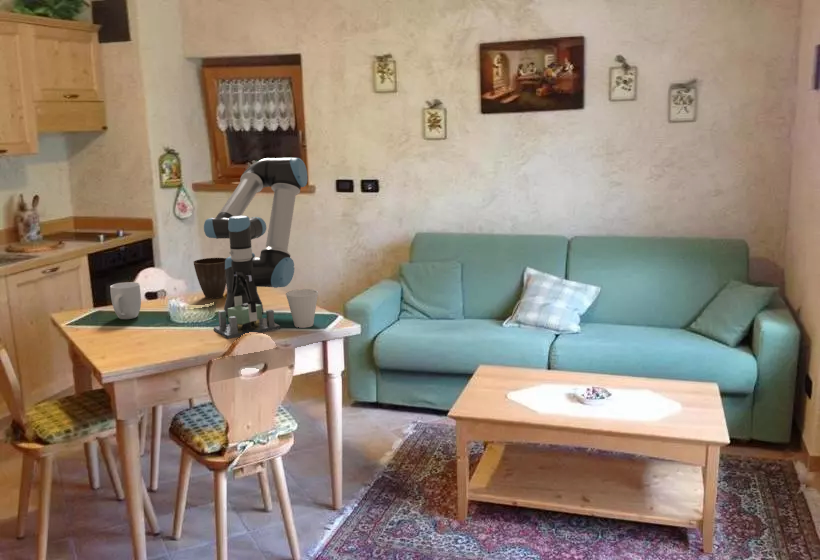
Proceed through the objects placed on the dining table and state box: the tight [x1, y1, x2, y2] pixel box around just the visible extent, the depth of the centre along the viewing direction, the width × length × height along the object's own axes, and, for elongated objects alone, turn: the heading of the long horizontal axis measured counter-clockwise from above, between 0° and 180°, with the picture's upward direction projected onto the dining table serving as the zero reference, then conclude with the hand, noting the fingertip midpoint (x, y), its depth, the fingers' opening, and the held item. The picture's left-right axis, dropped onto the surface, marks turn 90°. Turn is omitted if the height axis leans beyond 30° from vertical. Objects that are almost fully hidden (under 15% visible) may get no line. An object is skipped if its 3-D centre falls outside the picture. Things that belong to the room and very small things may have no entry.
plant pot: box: [193, 257, 227, 299], centre depth 333 cm, size 15×15×16 cm
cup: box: [285, 288, 319, 329], centre depth 283 cm, size 12×12×12 cm
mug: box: [109, 281, 142, 320], centre depth 300 cm, size 15×11×13 cm
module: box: [227, 303, 263, 324], centre depth 279 cm, size 10×7×6 cm
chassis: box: [213, 304, 281, 339], centre depth 280 cm, size 20×14×7 cm
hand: (246, 317), depth 280 cm, fingers open, 13 cm apart
